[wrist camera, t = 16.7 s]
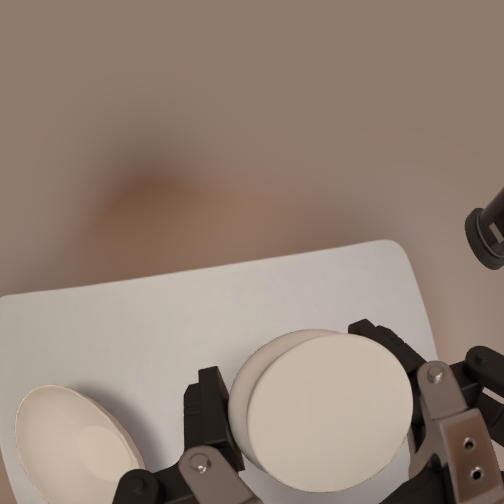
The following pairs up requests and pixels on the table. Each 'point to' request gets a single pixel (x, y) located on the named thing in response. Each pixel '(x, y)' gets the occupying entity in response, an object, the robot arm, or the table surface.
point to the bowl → (72, 446)
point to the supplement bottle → (320, 409)
